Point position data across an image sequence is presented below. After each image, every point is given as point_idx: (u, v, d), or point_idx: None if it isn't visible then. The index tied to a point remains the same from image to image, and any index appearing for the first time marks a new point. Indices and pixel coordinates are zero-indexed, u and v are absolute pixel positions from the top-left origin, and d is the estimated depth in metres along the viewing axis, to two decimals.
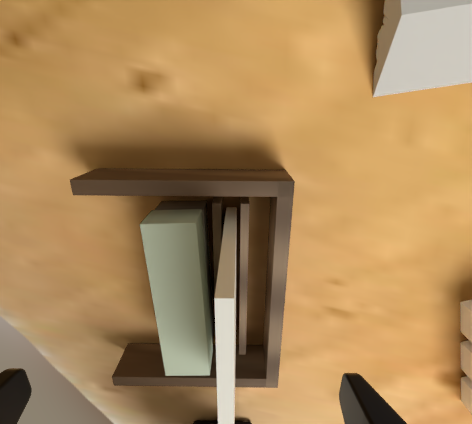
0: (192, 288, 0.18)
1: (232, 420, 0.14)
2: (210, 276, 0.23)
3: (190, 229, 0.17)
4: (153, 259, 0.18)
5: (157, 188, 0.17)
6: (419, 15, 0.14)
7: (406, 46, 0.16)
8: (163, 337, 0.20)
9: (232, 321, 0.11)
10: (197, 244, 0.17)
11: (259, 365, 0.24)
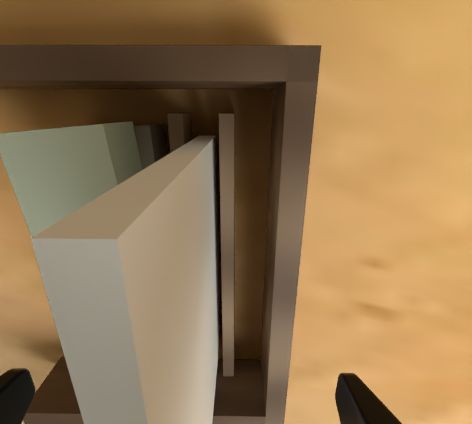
0: None
1: None
2: None
3: (93, 139, 0.08)
4: (35, 208, 0.09)
5: (48, 63, 0.09)
6: None
7: None
8: None
9: (127, 337, 0.03)
10: (114, 172, 0.09)
11: (255, 392, 0.16)
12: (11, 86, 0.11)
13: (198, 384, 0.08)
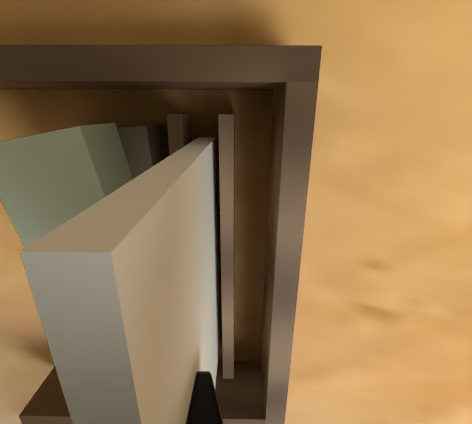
0: None
1: None
2: None
3: (72, 142, 0.08)
4: (24, 218, 0.09)
5: (46, 64, 0.09)
6: None
7: None
8: None
9: (122, 353, 0.03)
10: (96, 174, 0.09)
11: (255, 395, 0.15)
12: (9, 87, 0.11)
13: None
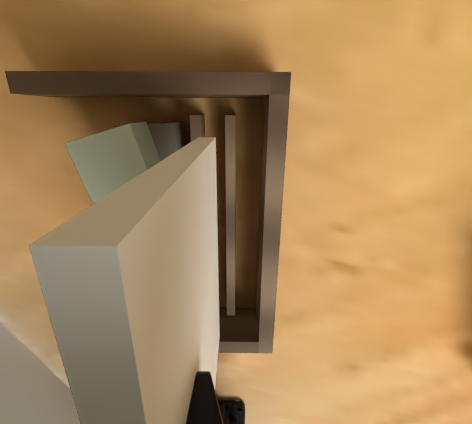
0: None
1: None
2: None
3: (125, 134, 0.13)
4: (95, 188, 0.14)
5: (116, 83, 0.13)
6: None
7: None
8: None
9: (126, 345, 0.03)
10: (141, 154, 0.14)
11: (251, 328, 0.20)
12: (80, 96, 0.16)
13: None
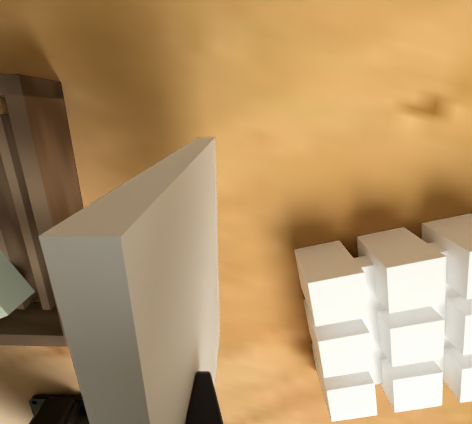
0: None
1: None
2: None
3: None
4: None
5: None
6: None
7: None
8: None
9: (129, 331, 0.03)
10: None
11: None
12: None
13: None
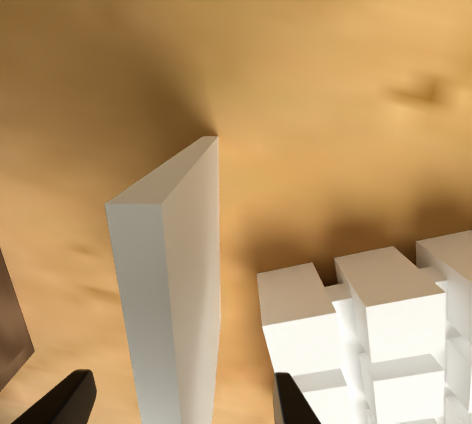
0: None
1: None
2: None
3: None
4: None
5: None
6: None
7: None
8: None
9: (163, 275, 0.04)
10: None
11: None
12: None
13: (204, 349, 0.09)
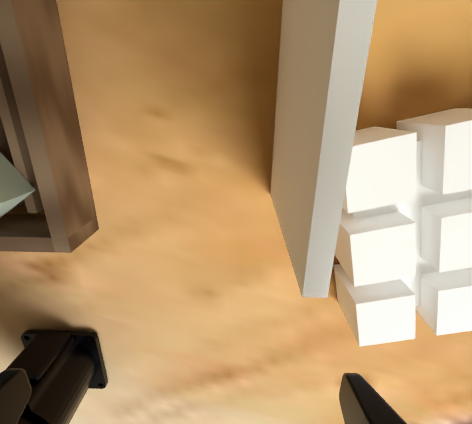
0: None
1: (349, 150, 0.07)
2: None
3: None
4: None
5: None
6: None
7: None
8: None
9: None
10: None
11: None
12: None
13: None
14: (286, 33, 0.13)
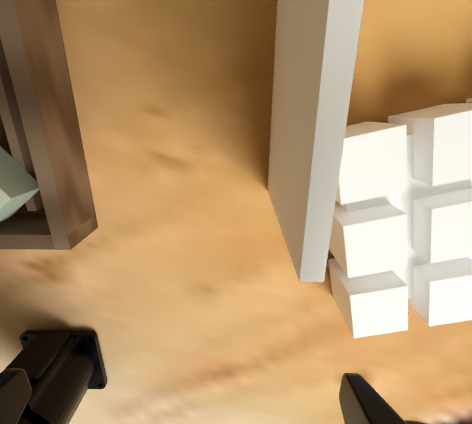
0: None
1: (342, 135, 0.07)
2: None
3: None
4: None
5: None
6: None
7: None
8: None
9: None
10: None
11: None
12: None
13: None
14: (281, 31, 0.14)
